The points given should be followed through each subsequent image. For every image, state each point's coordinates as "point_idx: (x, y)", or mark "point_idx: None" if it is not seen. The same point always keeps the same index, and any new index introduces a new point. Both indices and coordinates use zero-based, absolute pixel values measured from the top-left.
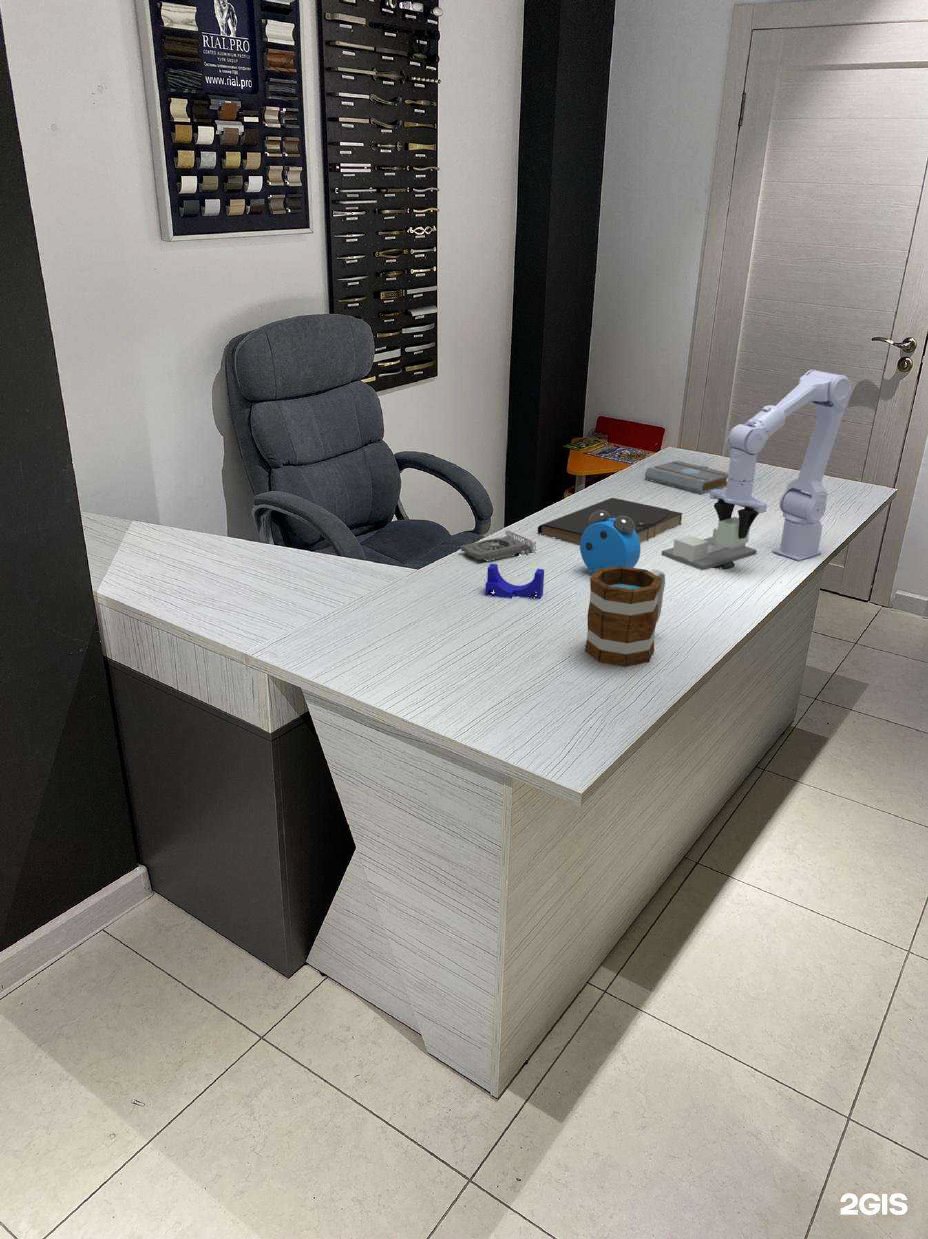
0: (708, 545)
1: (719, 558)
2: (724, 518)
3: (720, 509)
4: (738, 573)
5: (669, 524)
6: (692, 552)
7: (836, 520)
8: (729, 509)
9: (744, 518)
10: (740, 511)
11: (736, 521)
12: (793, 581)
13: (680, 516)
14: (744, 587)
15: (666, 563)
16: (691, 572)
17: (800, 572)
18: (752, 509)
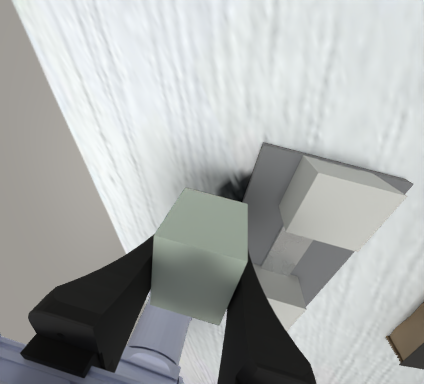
0: (300, 266)
1: (251, 214)
2: (237, 296)
3: (254, 339)
4: (190, 175)
5: (415, 327)
6: (313, 165)
7: (198, 378)
8: (227, 355)
9: (88, 278)
10: (73, 317)
11: (185, 288)
12: (103, 197)
13: (399, 355)
14: (133, 99)
15: (376, 124)
16: (283, 105)
17: (124, 238)
18: (24, 350)
